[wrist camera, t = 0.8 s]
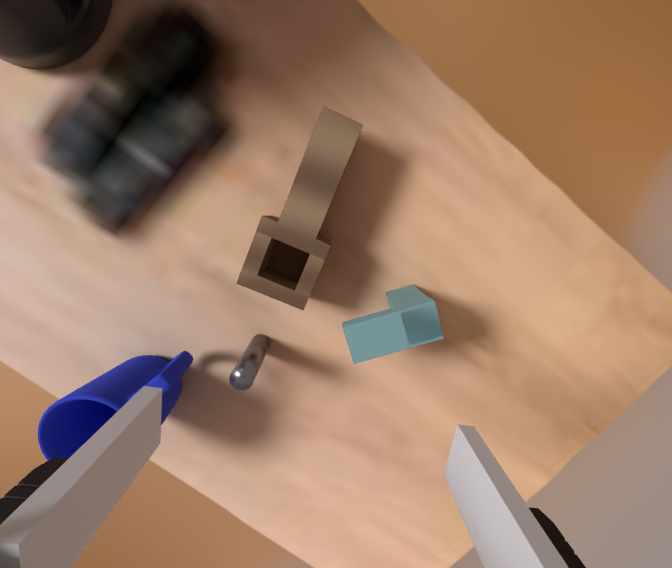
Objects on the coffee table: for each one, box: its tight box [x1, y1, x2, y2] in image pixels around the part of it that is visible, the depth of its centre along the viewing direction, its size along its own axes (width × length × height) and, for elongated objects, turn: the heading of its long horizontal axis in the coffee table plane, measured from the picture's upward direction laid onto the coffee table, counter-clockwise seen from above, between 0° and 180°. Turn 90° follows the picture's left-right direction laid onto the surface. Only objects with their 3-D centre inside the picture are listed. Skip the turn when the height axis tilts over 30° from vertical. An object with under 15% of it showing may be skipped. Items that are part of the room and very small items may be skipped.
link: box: [237, 106, 363, 310], centre depth 30 cm, size 16×6×5 cm, turn 157°
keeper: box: [342, 285, 444, 364], centre depth 31 cm, size 4×8×7 cm, turn 106°
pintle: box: [230, 334, 270, 390], centre depth 31 cm, size 2×2×8 cm
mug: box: [38, 351, 193, 461], centre depth 31 cm, size 8×12×10 cm
